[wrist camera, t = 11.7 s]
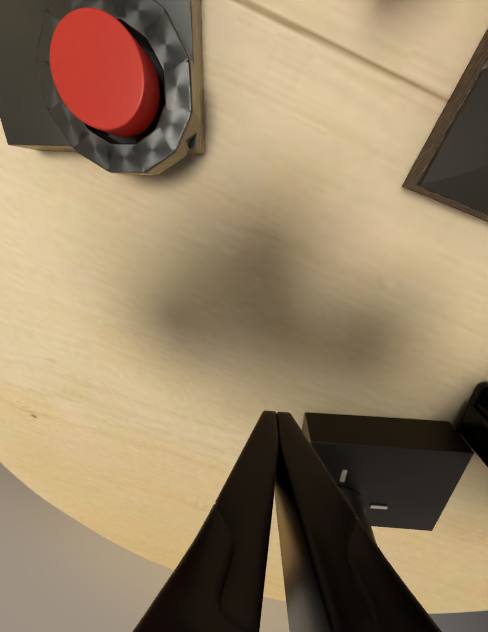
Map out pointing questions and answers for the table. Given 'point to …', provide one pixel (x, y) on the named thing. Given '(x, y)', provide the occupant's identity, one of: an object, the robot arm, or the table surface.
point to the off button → (103, 73)
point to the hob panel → (391, 464)
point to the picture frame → (459, 145)
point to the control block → (62, 125)
